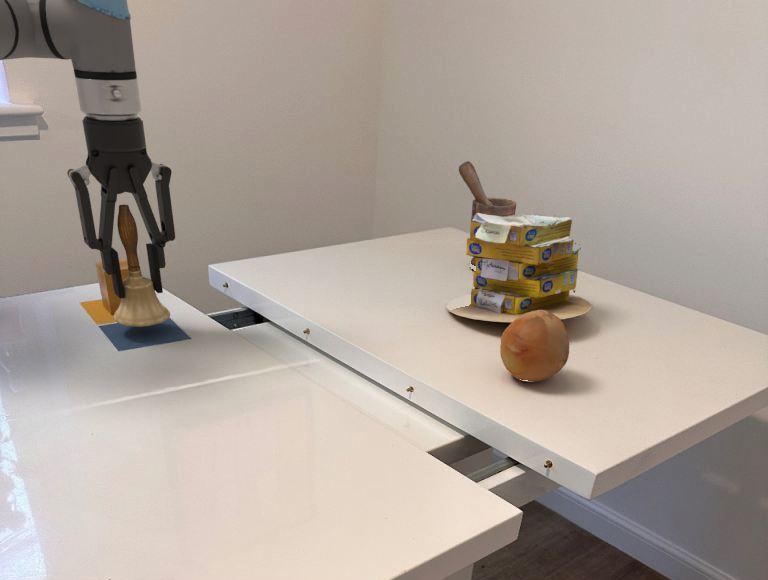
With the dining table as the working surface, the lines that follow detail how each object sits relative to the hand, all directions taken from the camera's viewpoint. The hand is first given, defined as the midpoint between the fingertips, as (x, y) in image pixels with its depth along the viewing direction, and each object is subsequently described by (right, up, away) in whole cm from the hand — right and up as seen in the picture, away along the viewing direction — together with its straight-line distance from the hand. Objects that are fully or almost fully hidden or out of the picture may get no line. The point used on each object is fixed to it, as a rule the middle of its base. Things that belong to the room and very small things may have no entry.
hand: (138, 292), depth 107 cm
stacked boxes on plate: (+60, +2, +20) cm, 63 cm away
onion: (+58, -13, -2) cm, 59 cm away
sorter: (-4, -3, +8) cm, 9 cm away
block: (-7, +1, +11) cm, 13 cm away
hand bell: (0, -3, +2) cm, 4 cm away
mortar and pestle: (+56, +17, +41) cm, 72 cm away
